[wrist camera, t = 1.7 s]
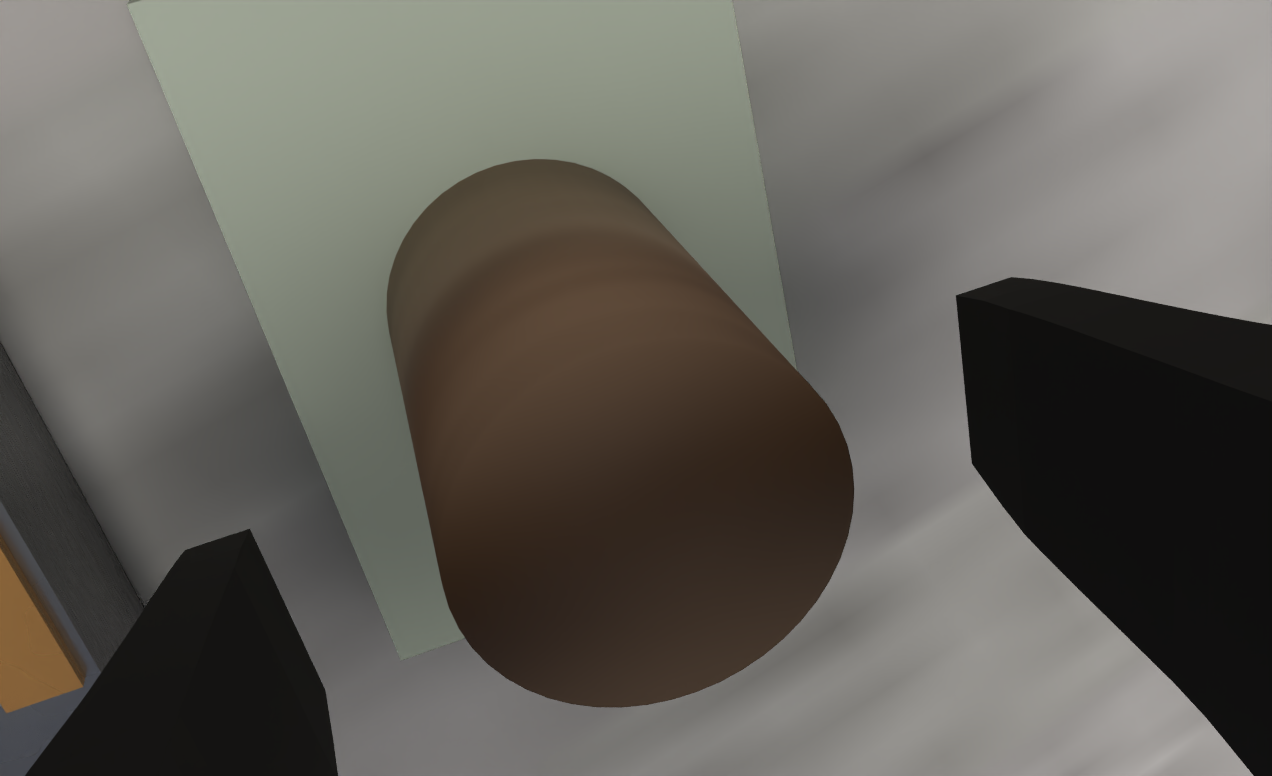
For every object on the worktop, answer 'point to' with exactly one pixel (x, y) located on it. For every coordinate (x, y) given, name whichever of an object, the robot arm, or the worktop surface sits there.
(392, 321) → the peg
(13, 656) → the hole plate
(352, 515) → the pad
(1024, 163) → the worktop surface
